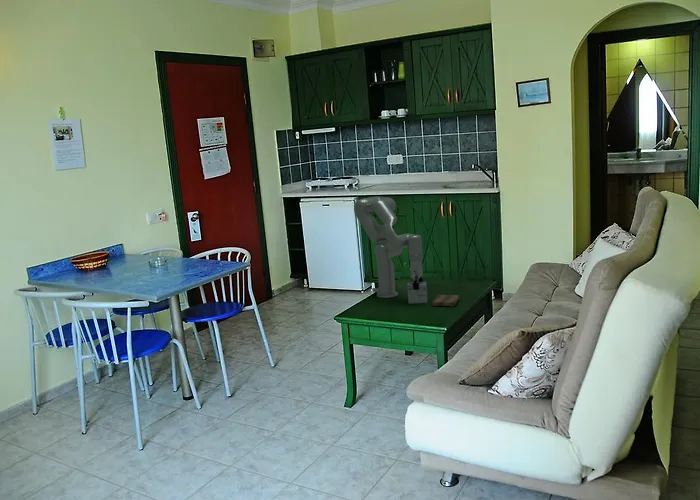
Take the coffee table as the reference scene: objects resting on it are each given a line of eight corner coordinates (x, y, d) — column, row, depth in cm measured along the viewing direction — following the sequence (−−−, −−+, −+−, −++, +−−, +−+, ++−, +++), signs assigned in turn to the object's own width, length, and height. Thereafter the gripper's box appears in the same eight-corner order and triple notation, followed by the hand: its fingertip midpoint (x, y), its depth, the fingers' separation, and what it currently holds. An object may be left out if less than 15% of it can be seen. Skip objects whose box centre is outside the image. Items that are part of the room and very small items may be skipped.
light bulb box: (427, 299, 342) (426, 281, 340) (427, 303, 335) (426, 284, 333) (408, 300, 343) (407, 282, 341) (408, 304, 336) (407, 285, 334)
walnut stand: (432, 306, 328) (432, 302, 327) (437, 299, 342) (437, 294, 341) (454, 307, 324) (454, 302, 323) (459, 299, 338) (459, 295, 337)
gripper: (412, 254, 344) (415, 284, 346) (405, 260, 327) (407, 291, 330) (426, 254, 341) (428, 283, 344) (419, 260, 325) (421, 291, 328)
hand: (418, 287), depth 337 cm, fingers open, 9 cm apart
